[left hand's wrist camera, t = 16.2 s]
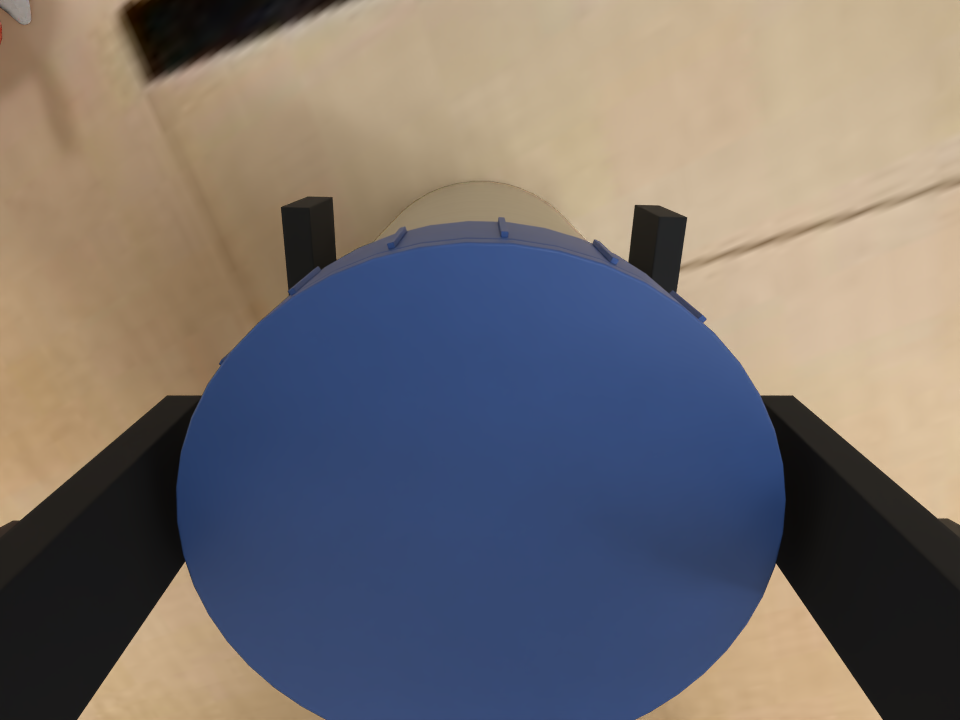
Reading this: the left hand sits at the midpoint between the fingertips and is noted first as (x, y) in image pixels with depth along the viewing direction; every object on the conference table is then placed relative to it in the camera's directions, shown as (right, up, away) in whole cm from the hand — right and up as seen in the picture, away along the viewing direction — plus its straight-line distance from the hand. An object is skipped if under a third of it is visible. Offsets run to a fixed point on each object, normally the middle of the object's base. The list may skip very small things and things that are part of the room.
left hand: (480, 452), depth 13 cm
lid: (0, -1, -3) cm, 3 cm away
